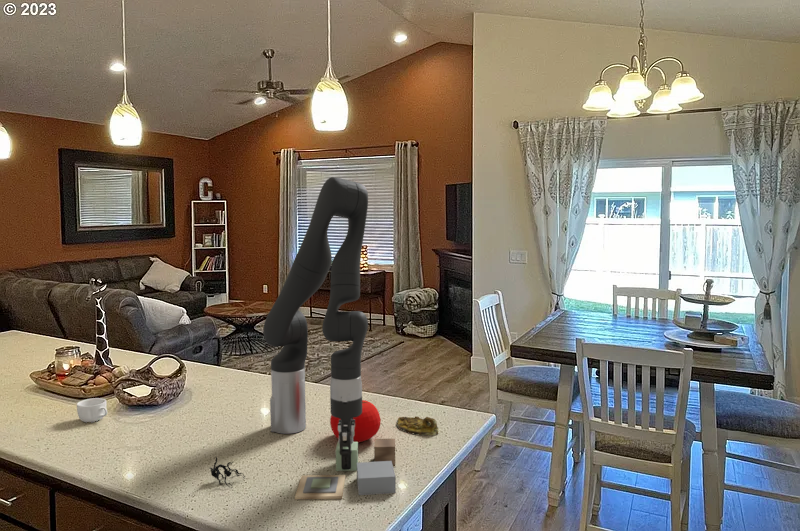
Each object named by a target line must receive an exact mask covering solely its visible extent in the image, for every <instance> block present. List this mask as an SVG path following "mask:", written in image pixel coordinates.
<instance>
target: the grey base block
mask: <svg viewBox="0 0 800 531" xmlns="http://www.w3.org/2000/svg"><path fill="white" fill-rule="evenodd" d="M396 478H397V477H396V473H395V468H394V467H393V464H392V461H378V462H374V461H363V462H362V461H361V462H360V461H358V463H357V471H356V481H357V483H356V484H357V491H358V492H357V493H358V496H365V495H366V496H367V495H369V496H370V495H381V494H382V495H383V494H396V490H397V489H396V485H397V484H396V483H397V482H396Z"/></svg>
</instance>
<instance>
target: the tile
mask: <svg viewBox="0 0 800 531" xmlns="http://www.w3.org/2000/svg"><path fill="white" fill-rule="evenodd" d="M345 482H346V474H324V475H322V474H318V475H316V474H314V475H313V474H312V475H310V474H309V475H301V477H300V479H299V483H298V485H297V488H296V492H295V495H294V500H343V497H344V495H343V494H344V489H345Z"/></svg>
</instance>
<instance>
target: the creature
mask: <svg viewBox="0 0 800 531" xmlns="http://www.w3.org/2000/svg"><path fill="white" fill-rule="evenodd" d="M217 463H218V457H217V456H215V462H214V464H213V467H209V469H210V473H211V476H212V477H213V478H214V479H216V480H218V484H219V485H223V484H224V485H226V487H228V488H231V489H233V488H234V486H233V485H232V484H231V483H230V482H229V483H227V477H230V478H231V479H232V478H234V476H232V473H233V472H234V473H235V474H236V475H235V476H236V477H237V478H238V477H240V476H241V477H242V478H243V479H244V480H245V478H246V476H245V474H244V473H242V472H239V470H237V469H236V468H234V469H231V467H232V466H231V465H232V464H233V462H232V461H228V462H227V464H226V465H224V464H218V465H217ZM229 465H230V467H229ZM220 468H222V469H223V473H222V472H220ZM223 474H224V475H223ZM220 475H221V478H222V479H224V481H223V482H224V483H221V480H220ZM231 476H232V477H231ZM228 484H229V485H230V486H229V485H228Z"/></svg>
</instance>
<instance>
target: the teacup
mask: <svg viewBox="0 0 800 531" xmlns="http://www.w3.org/2000/svg"><path fill="white" fill-rule="evenodd" d="M76 410H77V411H76V412H77V416H78V418H79V420H81V421H82V422H84V423H87V422H91V423H96V422H98V420H99V421H100V419H101V420H102V419H103V418H104V417H106V416H107V415H108V409H107V399H105V398H101V397H100V398H99V397H95V398H94V397H93V398H92V397H91V398H87V399H82V400H79V401H78V402H76ZM95 421H96V422H95Z"/></svg>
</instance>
